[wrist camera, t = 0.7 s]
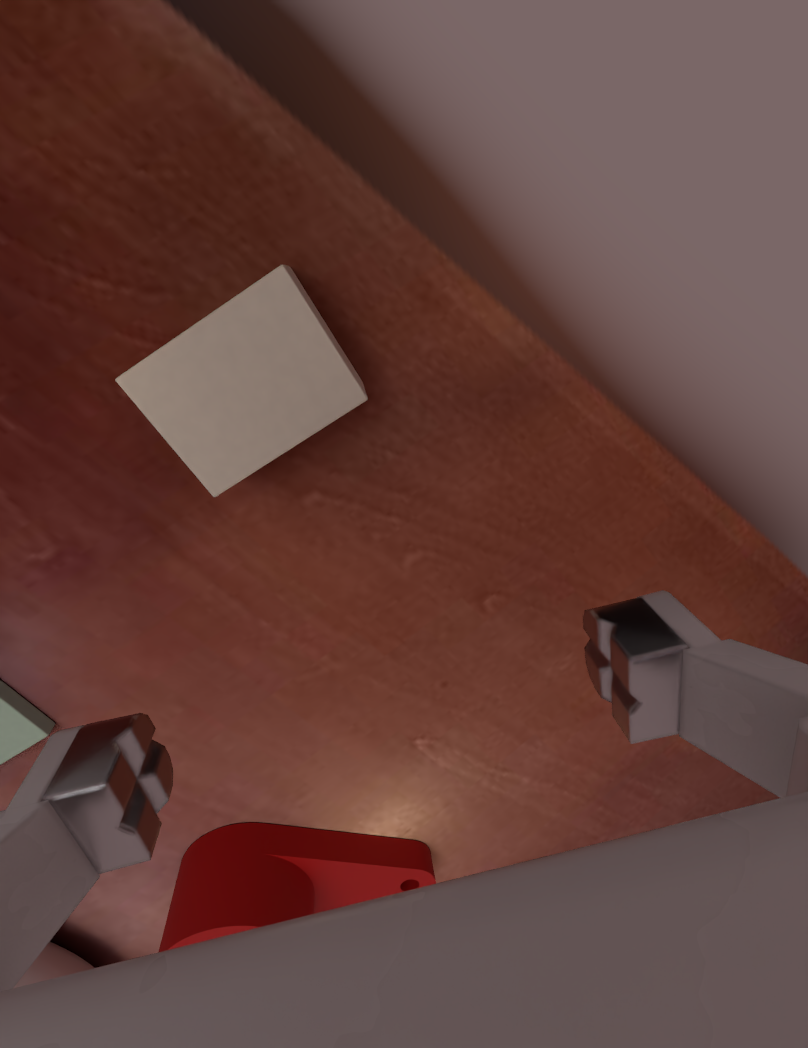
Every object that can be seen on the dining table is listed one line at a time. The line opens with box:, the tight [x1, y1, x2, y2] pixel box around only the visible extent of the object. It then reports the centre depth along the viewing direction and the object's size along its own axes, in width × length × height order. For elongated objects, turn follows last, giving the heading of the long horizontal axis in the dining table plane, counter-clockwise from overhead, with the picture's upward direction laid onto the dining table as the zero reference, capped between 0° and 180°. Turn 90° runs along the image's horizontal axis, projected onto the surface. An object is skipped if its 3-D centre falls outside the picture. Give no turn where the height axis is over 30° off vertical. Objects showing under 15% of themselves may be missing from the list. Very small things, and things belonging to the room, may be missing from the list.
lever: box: [159, 823, 436, 952], centre depth 37 cm, size 18×9×7 cm, turn 86°
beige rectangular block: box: [115, 265, 368, 497], centre depth 24 cm, size 6×8×4 cm
